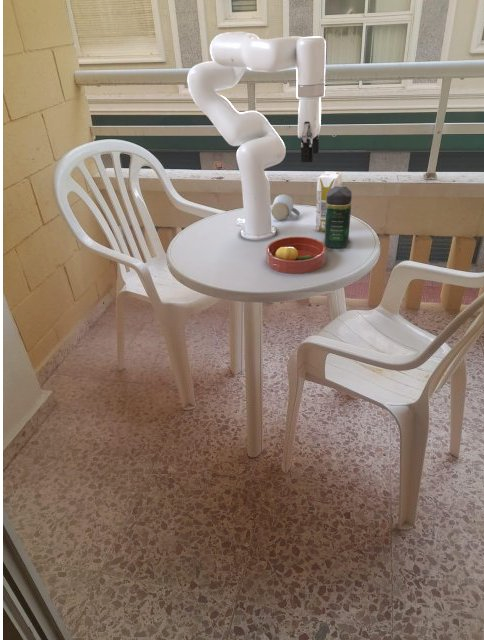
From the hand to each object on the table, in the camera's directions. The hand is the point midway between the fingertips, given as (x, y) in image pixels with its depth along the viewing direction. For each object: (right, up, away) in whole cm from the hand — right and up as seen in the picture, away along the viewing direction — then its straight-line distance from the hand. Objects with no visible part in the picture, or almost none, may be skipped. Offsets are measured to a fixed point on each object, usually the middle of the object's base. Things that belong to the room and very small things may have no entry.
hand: (310, 157), depth 132 cm
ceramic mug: (-4, -6, +43) cm, 44 cm away
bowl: (-3, -29, +11) cm, 31 cm away
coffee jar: (+11, -21, +20) cm, 32 cm away
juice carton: (+10, -13, +32) cm, 36 cm away
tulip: (-3, -28, +11) cm, 30 cm away
